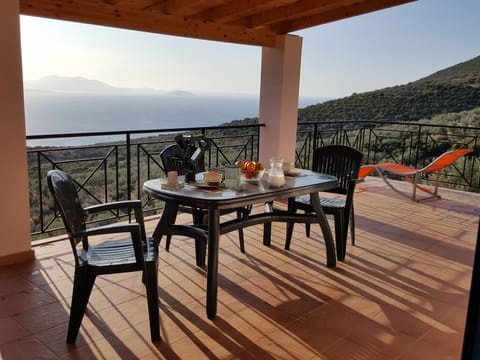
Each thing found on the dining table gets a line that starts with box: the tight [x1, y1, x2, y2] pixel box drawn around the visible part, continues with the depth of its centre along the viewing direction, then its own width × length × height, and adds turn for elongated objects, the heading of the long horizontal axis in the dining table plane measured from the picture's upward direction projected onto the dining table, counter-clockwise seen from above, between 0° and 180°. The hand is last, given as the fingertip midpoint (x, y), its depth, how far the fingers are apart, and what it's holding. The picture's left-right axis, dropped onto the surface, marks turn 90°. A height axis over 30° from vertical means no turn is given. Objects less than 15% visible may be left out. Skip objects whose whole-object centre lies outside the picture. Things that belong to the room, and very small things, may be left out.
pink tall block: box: [167, 171, 178, 184], centre depth 282 cm, size 5×4×10 cm
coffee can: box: [224, 163, 242, 189], centre depth 289 cm, size 10×10×14 cm
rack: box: [160, 180, 185, 191], centre depth 283 cm, size 12×10×3 cm
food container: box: [207, 166, 225, 185], centre depth 301 cm, size 12×6×10 cm, turn 71°
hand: (174, 170), depth 283 cm, fingers open, 9 cm apart
